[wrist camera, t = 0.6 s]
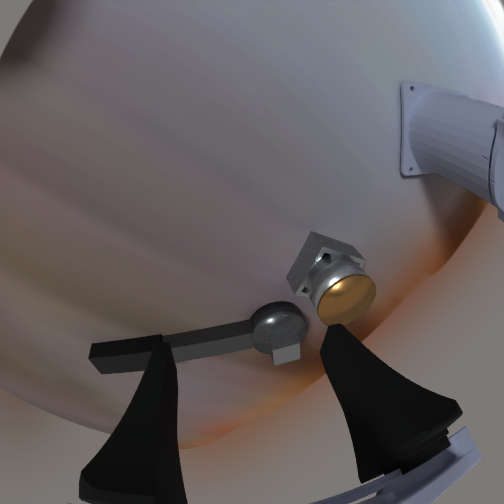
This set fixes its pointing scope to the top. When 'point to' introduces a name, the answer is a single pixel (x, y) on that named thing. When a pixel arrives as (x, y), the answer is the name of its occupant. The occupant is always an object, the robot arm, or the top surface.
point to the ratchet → (212, 341)
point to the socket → (332, 279)
